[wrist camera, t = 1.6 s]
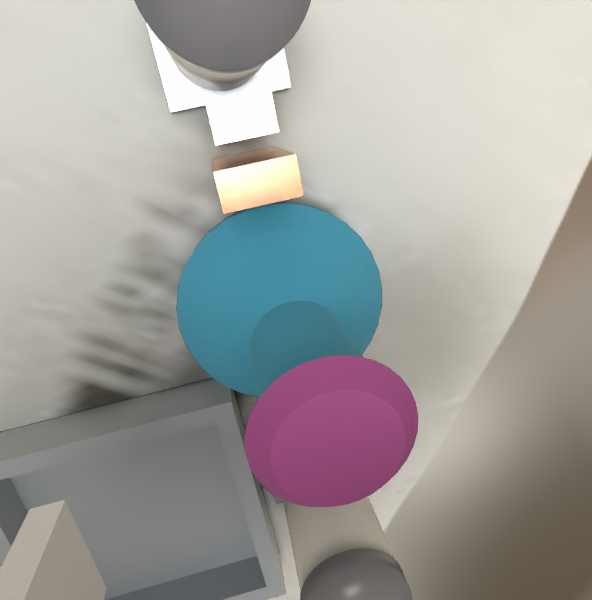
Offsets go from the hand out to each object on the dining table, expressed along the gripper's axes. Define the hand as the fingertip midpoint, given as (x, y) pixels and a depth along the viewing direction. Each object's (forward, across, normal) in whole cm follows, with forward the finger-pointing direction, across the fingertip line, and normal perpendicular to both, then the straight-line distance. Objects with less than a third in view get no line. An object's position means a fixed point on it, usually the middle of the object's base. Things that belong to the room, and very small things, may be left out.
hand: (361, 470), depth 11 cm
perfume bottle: (+16, 0, 0) cm, 16 cm away
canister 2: (+15, 0, -11) cm, 19 cm away
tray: (+16, -11, -12) cm, 22 cm away
